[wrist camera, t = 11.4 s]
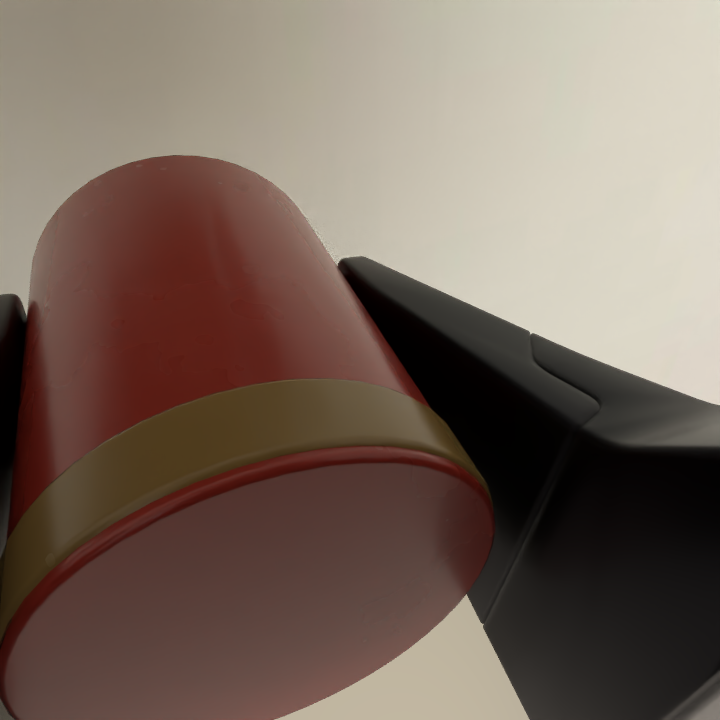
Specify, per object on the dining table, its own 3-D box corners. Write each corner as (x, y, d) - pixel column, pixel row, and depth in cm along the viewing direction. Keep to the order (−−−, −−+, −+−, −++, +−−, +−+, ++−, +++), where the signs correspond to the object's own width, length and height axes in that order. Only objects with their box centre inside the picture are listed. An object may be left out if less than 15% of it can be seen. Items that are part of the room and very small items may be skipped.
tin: (370, 227, 10) (586, 490, 6) (245, 416, 12) (342, 722, 8) (95, 84, 7) (130, 393, 3) (-15, 360, 9) (-88, 795, 5)
